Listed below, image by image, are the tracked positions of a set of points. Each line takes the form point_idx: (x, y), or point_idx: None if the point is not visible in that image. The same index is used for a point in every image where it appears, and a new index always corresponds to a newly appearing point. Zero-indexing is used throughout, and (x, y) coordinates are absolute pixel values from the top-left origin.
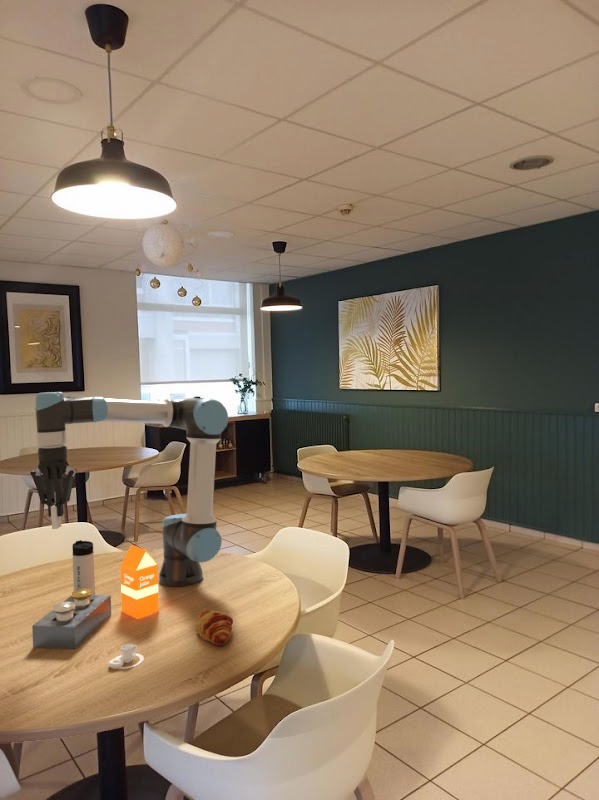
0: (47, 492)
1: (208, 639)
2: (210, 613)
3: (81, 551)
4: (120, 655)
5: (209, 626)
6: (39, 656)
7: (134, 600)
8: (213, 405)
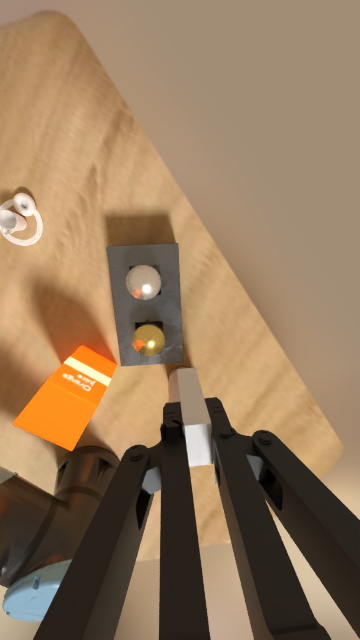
0: (255, 501)
1: None
2: None
3: None
4: (38, 235)
5: None
6: (152, 221)
7: (77, 358)
8: None
